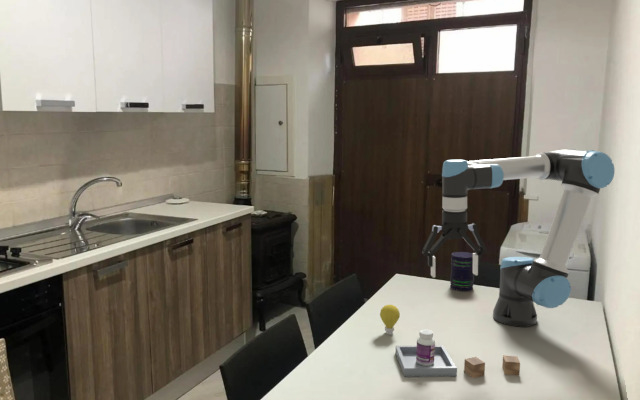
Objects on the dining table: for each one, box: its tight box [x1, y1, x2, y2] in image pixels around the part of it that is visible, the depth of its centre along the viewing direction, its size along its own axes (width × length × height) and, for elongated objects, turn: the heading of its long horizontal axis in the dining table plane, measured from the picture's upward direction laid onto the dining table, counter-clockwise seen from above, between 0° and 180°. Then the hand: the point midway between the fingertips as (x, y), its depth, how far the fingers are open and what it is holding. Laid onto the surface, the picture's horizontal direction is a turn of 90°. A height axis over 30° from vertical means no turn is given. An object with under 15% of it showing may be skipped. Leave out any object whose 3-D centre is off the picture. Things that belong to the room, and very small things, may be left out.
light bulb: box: [379, 304, 401, 335], centre depth 177 cm, size 7×7×10 cm
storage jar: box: [449, 251, 475, 292], centre depth 225 cm, size 10×10×15 cm
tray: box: [395, 344, 458, 378], centre depth 155 cm, size 15×15×2 cm
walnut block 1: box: [463, 356, 486, 379], centre depth 149 cm, size 4×4×4 cm
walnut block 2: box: [501, 354, 521, 376], centre depth 150 cm, size 4×4×4 cm
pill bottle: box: [416, 328, 436, 366], centre depth 154 cm, size 5×5×10 cm
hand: (454, 275), depth 165 cm, fingers open, 13 cm apart
